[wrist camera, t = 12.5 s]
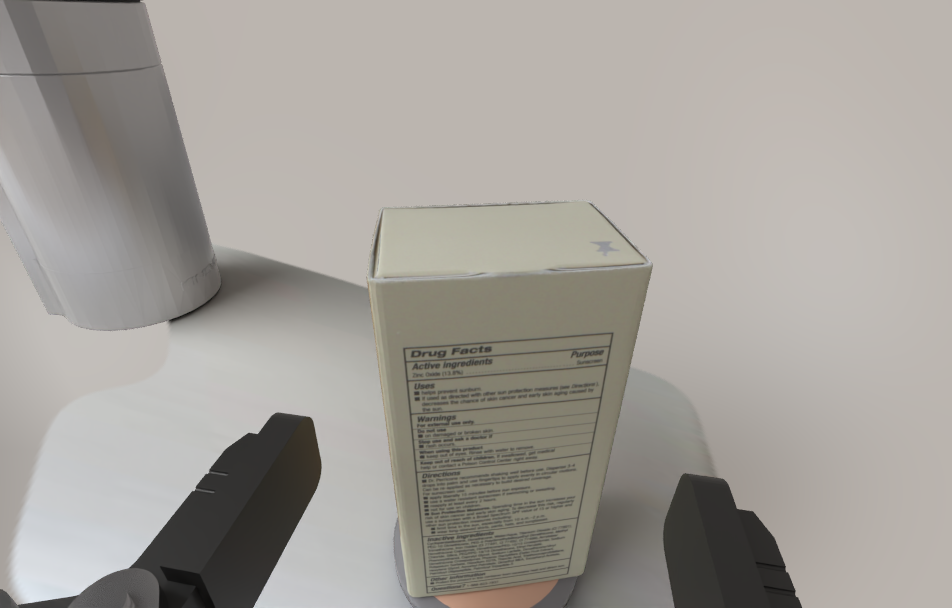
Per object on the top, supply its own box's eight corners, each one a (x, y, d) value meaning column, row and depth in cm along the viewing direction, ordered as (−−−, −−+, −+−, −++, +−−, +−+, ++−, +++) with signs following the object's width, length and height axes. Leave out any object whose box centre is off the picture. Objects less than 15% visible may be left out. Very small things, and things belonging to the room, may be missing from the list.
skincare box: (553, 477, 20) (602, 195, 14) (586, 581, 17) (673, 262, 10) (398, 490, 19) (375, 198, 13) (397, 603, 16) (364, 272, 9)
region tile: (377, 640, 16) (375, 628, 15) (409, 465, 22) (408, 453, 21) (594, 650, 15) (598, 638, 15) (565, 472, 21) (567, 460, 21)
